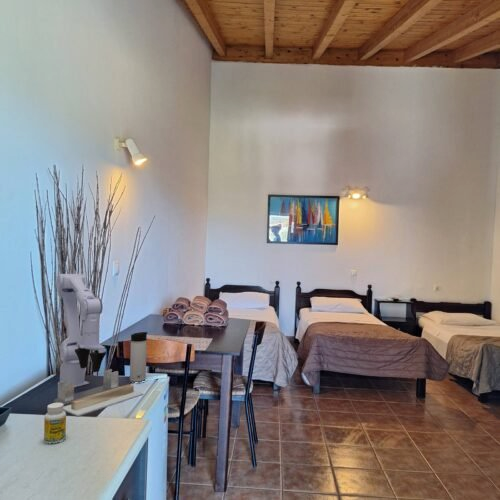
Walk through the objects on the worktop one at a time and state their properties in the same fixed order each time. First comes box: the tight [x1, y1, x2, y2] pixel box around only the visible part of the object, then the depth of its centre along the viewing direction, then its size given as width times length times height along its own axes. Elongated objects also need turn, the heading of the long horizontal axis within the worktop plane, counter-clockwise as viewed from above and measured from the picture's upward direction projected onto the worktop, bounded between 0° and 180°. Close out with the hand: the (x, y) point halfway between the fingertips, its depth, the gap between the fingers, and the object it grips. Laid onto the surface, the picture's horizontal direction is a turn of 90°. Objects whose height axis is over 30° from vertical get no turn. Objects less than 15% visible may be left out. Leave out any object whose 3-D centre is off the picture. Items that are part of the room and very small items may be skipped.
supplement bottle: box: [43, 402, 67, 445], centre depth 111 cm, size 5×5×10 cm
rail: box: [71, 383, 135, 411], centre depth 141 cm, size 2×23×2 cm, turn 144°
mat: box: [63, 389, 144, 417], centre depth 141 cm, size 10×26×1 cm, turn 145°
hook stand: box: [53, 368, 121, 406], centre depth 146 cm, size 6×23×7 cm, turn 145°
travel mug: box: [129, 331, 148, 384], centre depth 164 cm, size 6×7×20 cm
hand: (89, 369), depth 146 cm, fingers open, 7 cm apart
